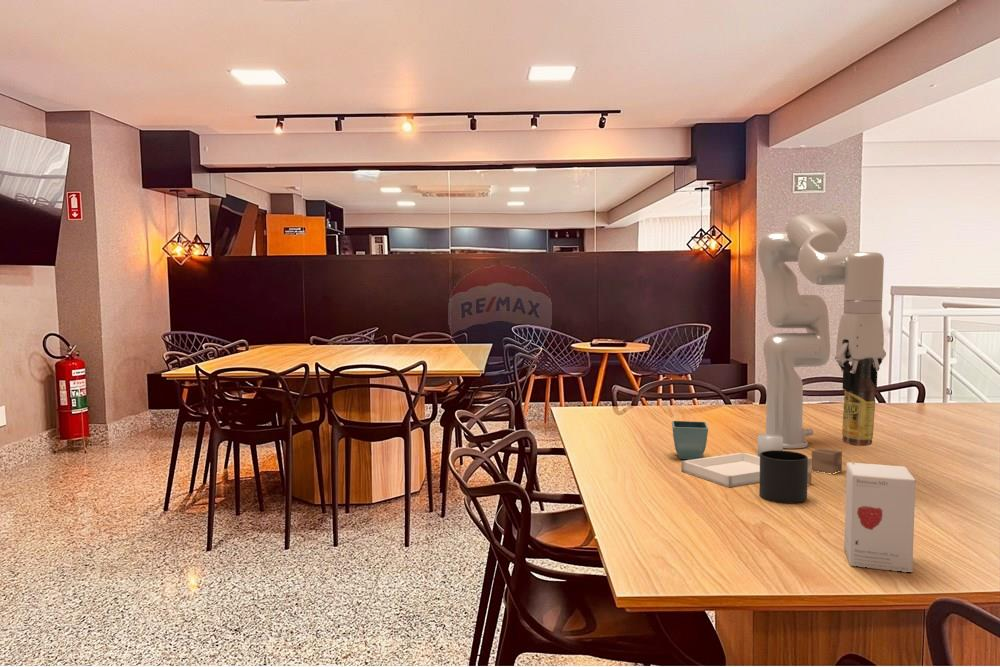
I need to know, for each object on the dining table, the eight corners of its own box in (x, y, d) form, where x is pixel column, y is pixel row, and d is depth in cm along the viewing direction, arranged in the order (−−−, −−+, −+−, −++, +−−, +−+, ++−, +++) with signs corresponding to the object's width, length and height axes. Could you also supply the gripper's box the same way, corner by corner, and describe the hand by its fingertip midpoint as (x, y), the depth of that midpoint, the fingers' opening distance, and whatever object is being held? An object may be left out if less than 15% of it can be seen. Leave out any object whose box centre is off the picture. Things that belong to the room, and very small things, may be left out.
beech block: (802, 479, 163) (802, 454, 162) (811, 484, 159) (811, 458, 158) (785, 480, 162) (785, 454, 162) (794, 485, 158) (794, 458, 158)
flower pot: (708, 462, 180) (708, 427, 179) (672, 461, 182) (673, 426, 181) (705, 454, 188) (705, 421, 188) (671, 453, 190) (671, 420, 190)
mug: (810, 491, 153) (811, 450, 153) (804, 506, 143) (805, 462, 142) (764, 485, 158) (765, 446, 157) (755, 500, 147) (756, 457, 147)
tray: (743, 461, 180) (743, 452, 180) (793, 476, 165) (793, 466, 165) (681, 471, 171) (681, 461, 171) (728, 487, 157) (728, 476, 157)
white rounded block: (769, 459, 182) (769, 432, 182) (787, 464, 177) (788, 437, 177) (752, 462, 180) (752, 435, 179) (770, 467, 174) (770, 439, 174)
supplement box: (849, 567, 112) (850, 474, 111) (843, 547, 120) (845, 461, 119) (914, 574, 108) (916, 479, 108) (903, 554, 117) (906, 465, 116)
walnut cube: (821, 467, 174) (821, 447, 173) (841, 471, 170) (842, 451, 170) (811, 471, 170) (811, 451, 170) (832, 475, 167) (832, 454, 166)
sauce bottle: (836, 440, 161) (839, 354, 159) (862, 439, 162) (865, 354, 160) (852, 447, 155) (856, 358, 153) (879, 446, 155) (883, 357, 153)
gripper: (873, 306, 162) (870, 383, 164) (820, 309, 155) (818, 389, 157) (904, 308, 156) (900, 388, 157) (850, 310, 148) (847, 395, 150)
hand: (859, 388), depth 157 cm, fingers closed on sauce bottle, 5 cm apart
